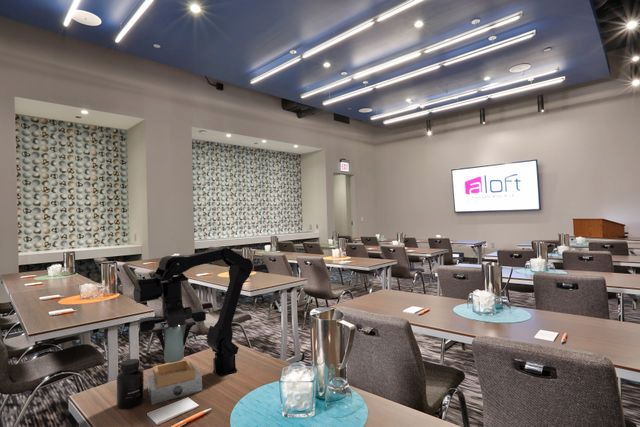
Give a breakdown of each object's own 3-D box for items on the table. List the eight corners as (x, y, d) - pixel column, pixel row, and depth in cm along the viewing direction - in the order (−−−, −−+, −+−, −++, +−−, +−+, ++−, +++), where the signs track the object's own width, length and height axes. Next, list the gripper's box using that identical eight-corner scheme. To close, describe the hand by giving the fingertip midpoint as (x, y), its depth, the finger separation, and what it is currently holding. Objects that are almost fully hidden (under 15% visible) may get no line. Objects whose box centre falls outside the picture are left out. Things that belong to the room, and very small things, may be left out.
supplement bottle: (132, 411, 97) (131, 367, 97) (111, 409, 98) (110, 366, 98) (149, 398, 104) (148, 357, 104) (129, 397, 105) (128, 356, 105)
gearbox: (193, 376, 118) (193, 356, 118) (202, 391, 107) (202, 369, 107) (147, 388, 110) (146, 367, 110) (151, 405, 100) (151, 382, 100)
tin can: (181, 354, 113) (180, 321, 113) (185, 359, 108) (184, 325, 108) (163, 358, 110) (162, 324, 110) (165, 364, 105) (164, 329, 105)
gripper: (141, 306, 97) (142, 363, 97) (209, 296, 107) (211, 348, 107) (137, 299, 107) (139, 351, 107) (200, 291, 117) (202, 338, 116)
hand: (173, 347), depth 109 cm, fingers closed on tin can, 5 cm apart
